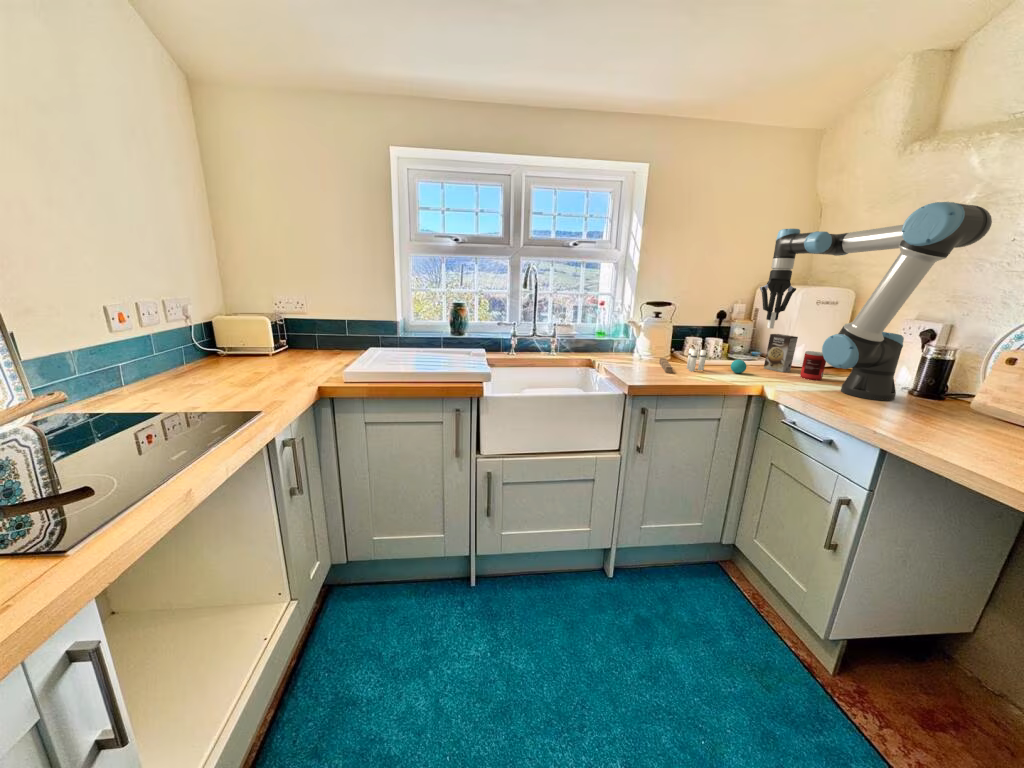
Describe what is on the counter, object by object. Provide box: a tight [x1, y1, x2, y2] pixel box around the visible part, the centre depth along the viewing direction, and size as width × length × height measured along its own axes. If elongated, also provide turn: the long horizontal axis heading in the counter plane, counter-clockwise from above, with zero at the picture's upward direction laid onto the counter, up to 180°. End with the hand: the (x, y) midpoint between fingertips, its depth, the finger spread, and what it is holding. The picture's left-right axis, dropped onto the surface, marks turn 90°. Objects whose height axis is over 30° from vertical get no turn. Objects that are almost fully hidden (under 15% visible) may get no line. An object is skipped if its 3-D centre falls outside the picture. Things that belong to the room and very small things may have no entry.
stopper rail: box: [658, 357, 673, 374], centre depth 184 cm, size 22×2×2 cm, turn 168°
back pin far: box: [686, 347, 696, 370], centre depth 184 cm, size 2×2×9 cm
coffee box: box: [763, 333, 799, 373], centre depth 187 cm, size 9×6×16 cm
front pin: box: [697, 349, 708, 371], centre depth 180 cm, size 2×2×9 cm
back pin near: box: [688, 349, 699, 372], centre depth 179 cm, size 2×2×9 cm
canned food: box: [799, 350, 827, 381], centre depth 172 cm, size 8×8×11 cm
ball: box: [730, 359, 747, 374], centre depth 178 cm, size 6×6×6 cm
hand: (770, 328), depth 172 cm, fingers closed
